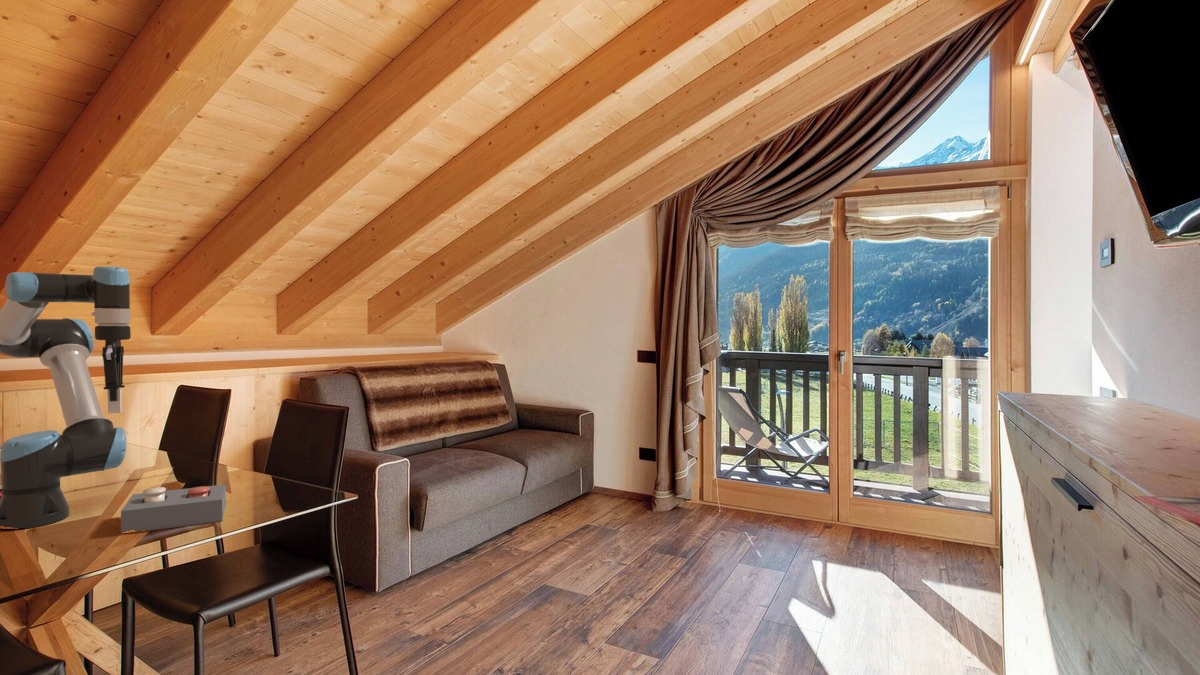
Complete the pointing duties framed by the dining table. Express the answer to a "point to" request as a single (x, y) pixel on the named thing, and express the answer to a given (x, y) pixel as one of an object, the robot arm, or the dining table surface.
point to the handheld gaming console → (196, 482)
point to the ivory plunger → (154, 494)
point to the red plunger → (198, 492)
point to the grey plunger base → (173, 510)
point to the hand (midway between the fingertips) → (114, 412)
